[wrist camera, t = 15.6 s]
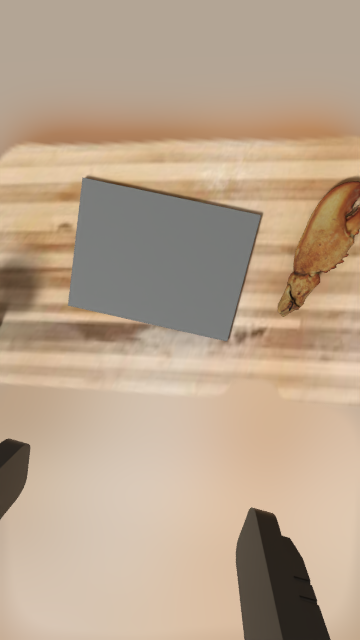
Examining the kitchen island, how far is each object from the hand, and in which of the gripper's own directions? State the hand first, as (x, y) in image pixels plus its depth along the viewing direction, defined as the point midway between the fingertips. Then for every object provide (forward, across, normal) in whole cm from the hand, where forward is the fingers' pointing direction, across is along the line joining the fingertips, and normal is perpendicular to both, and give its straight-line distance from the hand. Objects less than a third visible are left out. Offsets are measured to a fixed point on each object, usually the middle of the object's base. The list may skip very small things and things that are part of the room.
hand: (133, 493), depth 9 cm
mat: (+31, +6, -7) cm, 33 cm away
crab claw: (+29, -12, -5) cm, 31 cm away
